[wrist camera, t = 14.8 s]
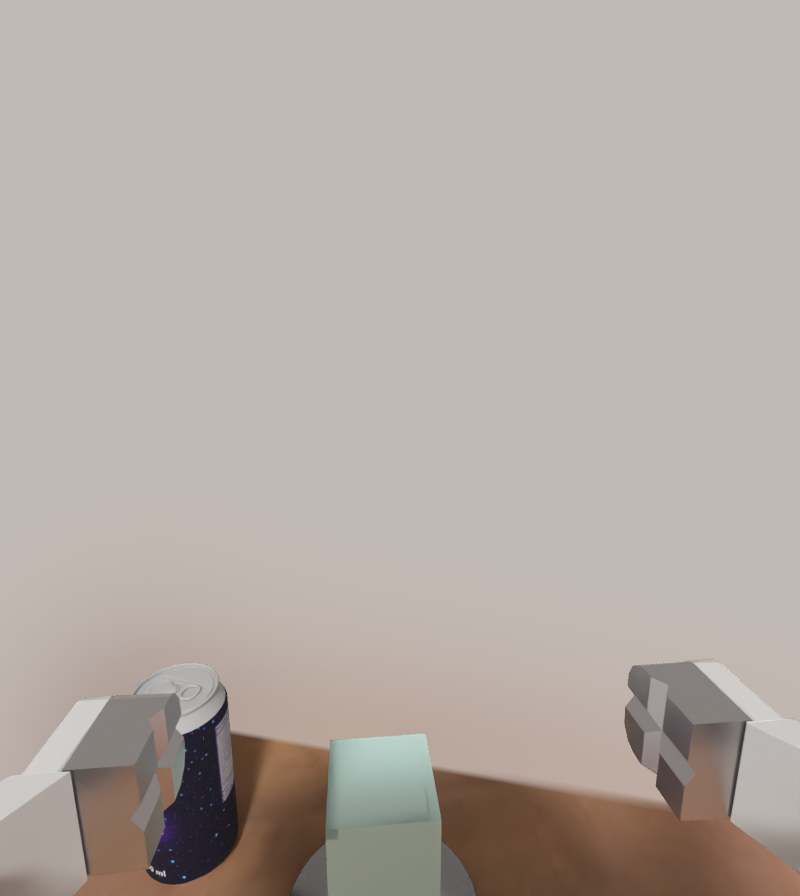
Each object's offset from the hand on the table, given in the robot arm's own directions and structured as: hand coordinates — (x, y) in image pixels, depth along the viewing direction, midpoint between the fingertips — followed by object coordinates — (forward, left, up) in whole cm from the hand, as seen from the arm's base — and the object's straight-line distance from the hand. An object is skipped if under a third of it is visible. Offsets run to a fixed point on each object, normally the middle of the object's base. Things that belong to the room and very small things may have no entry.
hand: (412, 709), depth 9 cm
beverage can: (+12, -20, -26) cm, 35 cm away
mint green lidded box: (0, -15, -25) cm, 30 cm away
